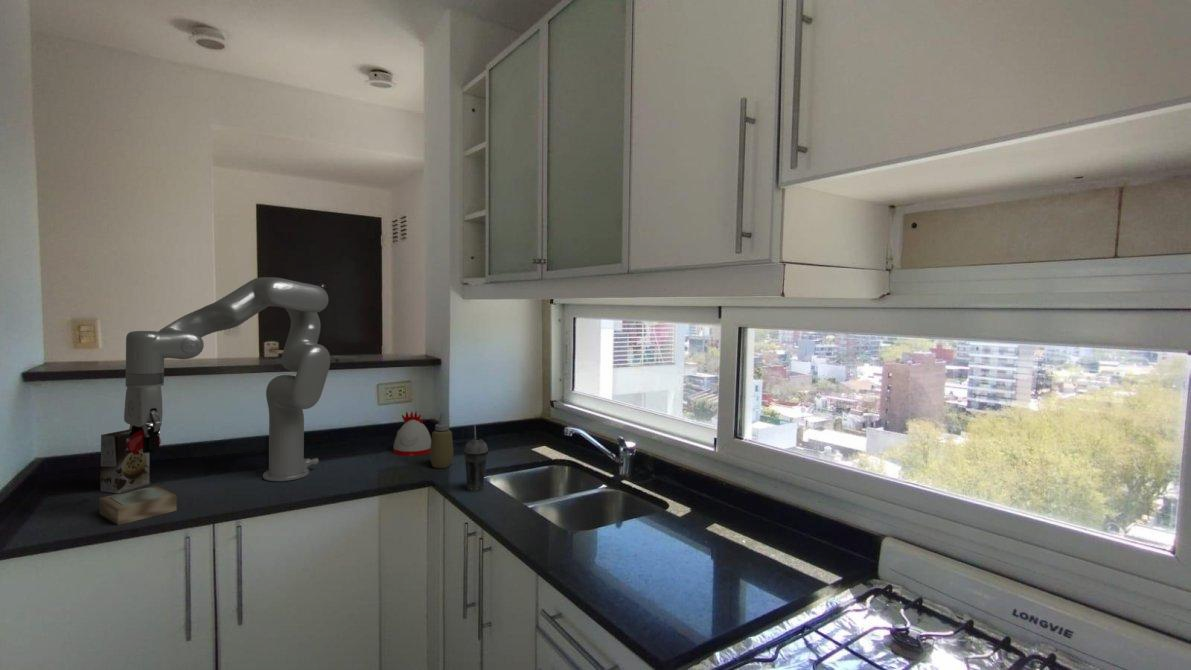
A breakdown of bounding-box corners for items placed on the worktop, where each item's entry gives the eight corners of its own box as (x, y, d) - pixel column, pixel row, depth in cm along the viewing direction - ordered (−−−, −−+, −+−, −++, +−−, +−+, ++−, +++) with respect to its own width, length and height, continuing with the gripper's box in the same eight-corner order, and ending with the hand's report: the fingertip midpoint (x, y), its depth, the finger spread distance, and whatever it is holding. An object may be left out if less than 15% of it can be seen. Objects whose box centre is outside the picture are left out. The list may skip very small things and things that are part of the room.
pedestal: (156, 500, 149) (156, 485, 149) (176, 510, 143) (176, 494, 143) (99, 513, 139) (99, 497, 139) (117, 525, 133) (117, 508, 132)
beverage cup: (491, 487, 170) (493, 423, 169) (479, 495, 163) (481, 427, 162) (471, 484, 172) (472, 420, 171) (457, 491, 165) (459, 425, 164)
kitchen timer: (398, 446, 214) (399, 407, 213) (435, 446, 215) (435, 408, 215) (389, 455, 200) (389, 414, 199) (428, 456, 202) (429, 415, 201)
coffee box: (118, 494, 153) (117, 436, 152) (99, 491, 154) (99, 434, 153) (150, 483, 162) (150, 429, 161) (133, 481, 163) (132, 427, 162)
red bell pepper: (170, 439, 142) (163, 424, 145) (144, 435, 136) (138, 420, 139) (150, 463, 142) (144, 447, 145) (123, 460, 137) (118, 444, 140)
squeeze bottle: (423, 467, 187) (425, 415, 186) (439, 461, 195) (440, 411, 194) (443, 471, 184) (444, 417, 183) (458, 464, 192) (459, 413, 191)
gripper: (112, 377, 141) (111, 446, 142) (141, 384, 132) (140, 458, 133) (148, 375, 147) (147, 441, 148) (178, 382, 138) (177, 452, 139)
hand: (144, 448), depth 140 cm, fingers closed on red bell pepper, 7 cm apart
